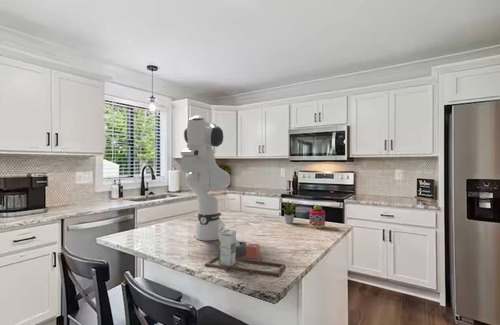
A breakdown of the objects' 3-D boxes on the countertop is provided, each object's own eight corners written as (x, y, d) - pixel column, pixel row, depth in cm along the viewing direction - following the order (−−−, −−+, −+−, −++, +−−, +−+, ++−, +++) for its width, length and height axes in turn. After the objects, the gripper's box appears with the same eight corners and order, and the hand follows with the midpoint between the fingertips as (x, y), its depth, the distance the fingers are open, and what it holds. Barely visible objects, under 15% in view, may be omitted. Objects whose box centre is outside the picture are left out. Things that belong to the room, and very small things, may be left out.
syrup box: (224, 261, 125) (223, 228, 125) (236, 263, 123) (236, 229, 123) (218, 266, 119) (218, 231, 119) (231, 267, 117) (231, 233, 117)
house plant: (293, 226, 190) (293, 202, 190) (275, 224, 197) (275, 200, 197) (302, 222, 202) (302, 200, 202) (284, 220, 209) (284, 198, 209)
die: (249, 253, 135) (249, 242, 135) (259, 255, 133) (259, 243, 133) (246, 257, 130) (246, 245, 130) (256, 258, 128) (256, 246, 128)
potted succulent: (306, 226, 191) (306, 204, 191) (318, 224, 196) (318, 203, 196) (315, 229, 182) (315, 206, 182) (328, 228, 186) (328, 205, 186)
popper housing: (229, 249, 142) (229, 240, 142) (246, 251, 139) (246, 242, 139) (221, 254, 133) (221, 245, 133) (239, 257, 130) (239, 247, 130)
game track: (218, 256, 132) (218, 254, 132) (286, 264, 120) (286, 262, 120) (202, 267, 118) (202, 265, 118) (277, 278, 106) (277, 276, 106)
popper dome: (231, 247, 140) (231, 237, 140) (242, 248, 138) (242, 238, 138) (225, 250, 134) (225, 240, 134) (237, 252, 132) (237, 241, 132)
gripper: (201, 152, 142) (201, 179, 142) (178, 151, 123) (178, 183, 123) (213, 152, 140) (213, 180, 140) (190, 151, 121) (190, 183, 121)
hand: (196, 181), depth 131 cm, fingers closed
